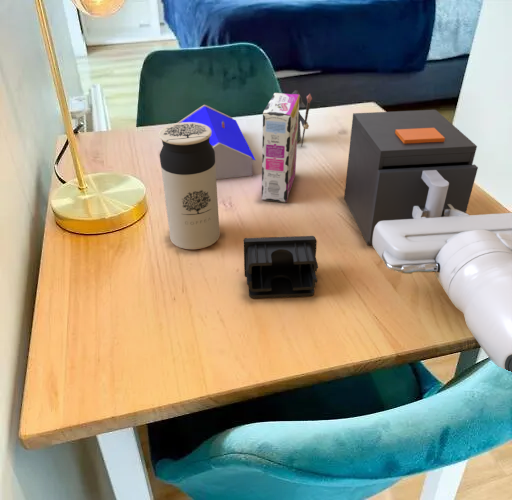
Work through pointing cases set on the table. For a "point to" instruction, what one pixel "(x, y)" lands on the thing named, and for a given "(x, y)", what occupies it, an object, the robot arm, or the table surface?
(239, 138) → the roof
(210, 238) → the travel mug
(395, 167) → the basket
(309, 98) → the wizard figurine
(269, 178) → the candy bar box
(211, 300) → the table surface
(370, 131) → the fryer housing
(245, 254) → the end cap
